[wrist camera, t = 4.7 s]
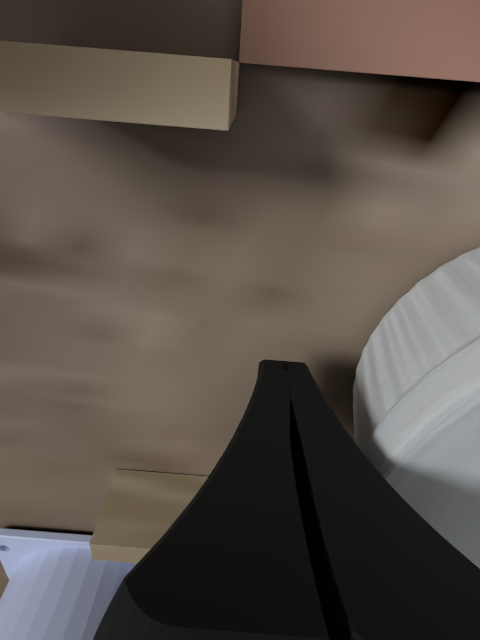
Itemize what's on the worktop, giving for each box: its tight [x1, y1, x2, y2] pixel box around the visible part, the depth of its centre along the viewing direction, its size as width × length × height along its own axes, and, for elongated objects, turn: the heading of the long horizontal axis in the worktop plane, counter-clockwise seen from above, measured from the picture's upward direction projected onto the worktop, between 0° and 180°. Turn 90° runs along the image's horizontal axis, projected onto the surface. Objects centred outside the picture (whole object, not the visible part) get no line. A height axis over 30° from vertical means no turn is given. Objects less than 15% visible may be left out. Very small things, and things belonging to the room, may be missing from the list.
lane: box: [0, 0, 480, 563], centre depth 10 cm, size 20×20×3 cm
